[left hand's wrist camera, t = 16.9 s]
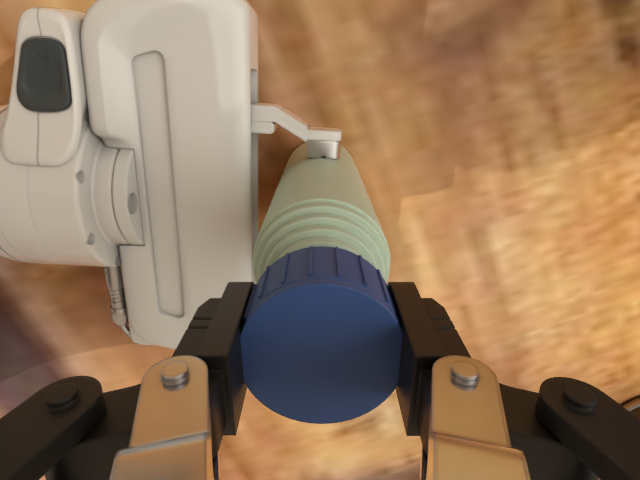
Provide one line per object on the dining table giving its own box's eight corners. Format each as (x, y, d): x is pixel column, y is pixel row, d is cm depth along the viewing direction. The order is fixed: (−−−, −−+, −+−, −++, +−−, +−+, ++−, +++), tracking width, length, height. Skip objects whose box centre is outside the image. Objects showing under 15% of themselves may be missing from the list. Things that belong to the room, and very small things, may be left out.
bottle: (341, 218, 31) (376, 441, 12) (276, 196, 30) (201, 395, 11) (367, 153, 29) (456, 293, 10) (297, 128, 28) (253, 227, 9)
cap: (414, 265, 12) (436, 307, 9) (367, 381, 13) (376, 440, 11) (268, 226, 11) (256, 261, 9) (236, 350, 13) (220, 406, 11)
